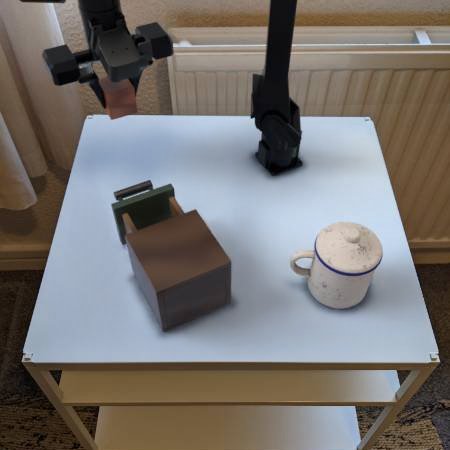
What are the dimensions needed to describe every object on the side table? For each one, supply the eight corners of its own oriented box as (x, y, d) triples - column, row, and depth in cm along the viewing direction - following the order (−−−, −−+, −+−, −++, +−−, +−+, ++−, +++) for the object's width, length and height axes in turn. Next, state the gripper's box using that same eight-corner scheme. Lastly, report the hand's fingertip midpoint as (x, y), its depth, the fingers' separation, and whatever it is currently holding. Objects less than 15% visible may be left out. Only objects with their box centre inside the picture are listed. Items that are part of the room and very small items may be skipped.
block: (127, 97, 84) (123, 71, 81) (138, 112, 82) (133, 86, 78) (101, 105, 83) (96, 79, 79) (111, 120, 81) (105, 94, 77)
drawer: (108, 219, 80) (99, 182, 74) (162, 200, 83) (157, 163, 76) (143, 283, 73) (135, 249, 67) (201, 260, 76) (199, 225, 69)
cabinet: (134, 278, 75) (124, 235, 67) (198, 253, 78) (195, 208, 70) (163, 332, 70) (155, 292, 62) (230, 303, 72) (231, 261, 65)
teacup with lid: (364, 263, 77) (385, 209, 67) (370, 313, 72) (393, 262, 62) (286, 258, 77) (295, 204, 68) (286, 308, 72) (296, 256, 62)
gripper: (49, 47, 62) (78, 149, 75) (185, 13, 67) (191, 114, 80) (26, 7, 68) (57, 108, 81) (153, -21, 73) (163, 78, 86)
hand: (118, 103), depth 82 cm, fingers closed on block, 4 cm apart
